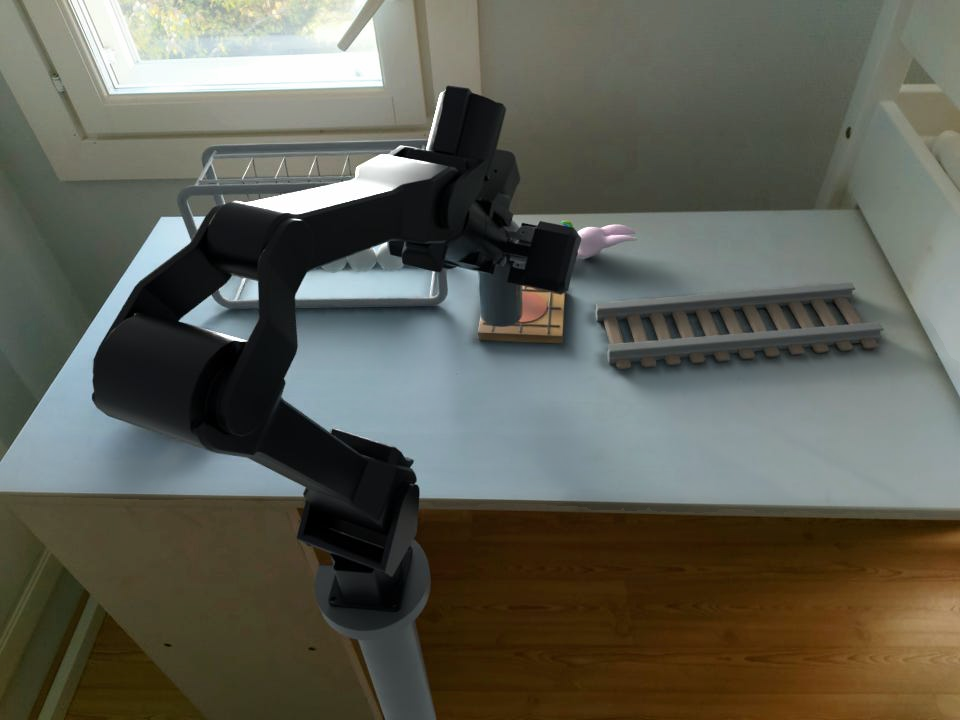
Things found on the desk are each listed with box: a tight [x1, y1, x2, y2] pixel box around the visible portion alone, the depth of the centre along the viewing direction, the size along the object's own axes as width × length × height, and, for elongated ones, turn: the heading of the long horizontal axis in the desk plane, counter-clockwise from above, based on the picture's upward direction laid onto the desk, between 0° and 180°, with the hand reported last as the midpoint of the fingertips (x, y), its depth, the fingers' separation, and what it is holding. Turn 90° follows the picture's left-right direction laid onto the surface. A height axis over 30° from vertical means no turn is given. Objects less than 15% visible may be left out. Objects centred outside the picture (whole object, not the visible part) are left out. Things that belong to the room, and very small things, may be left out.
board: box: [477, 286, 566, 344], centre depth 92 cm, size 10×10×1 cm
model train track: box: [594, 281, 884, 371], centre depth 89 cm, size 11×31×2 cm, turn 94°
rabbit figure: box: [560, 220, 638, 260], centre depth 99 cm, size 6×6×15 cm
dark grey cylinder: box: [477, 219, 523, 327], centre depth 80 cm, size 5×5×12 cm
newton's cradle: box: [176, 138, 449, 310], centre depth 93 cm, size 30×10×18 cm, turn 88°
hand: (504, 258), depth 81 cm, fingers closed on dark grey cylinder, 5 cm apart
